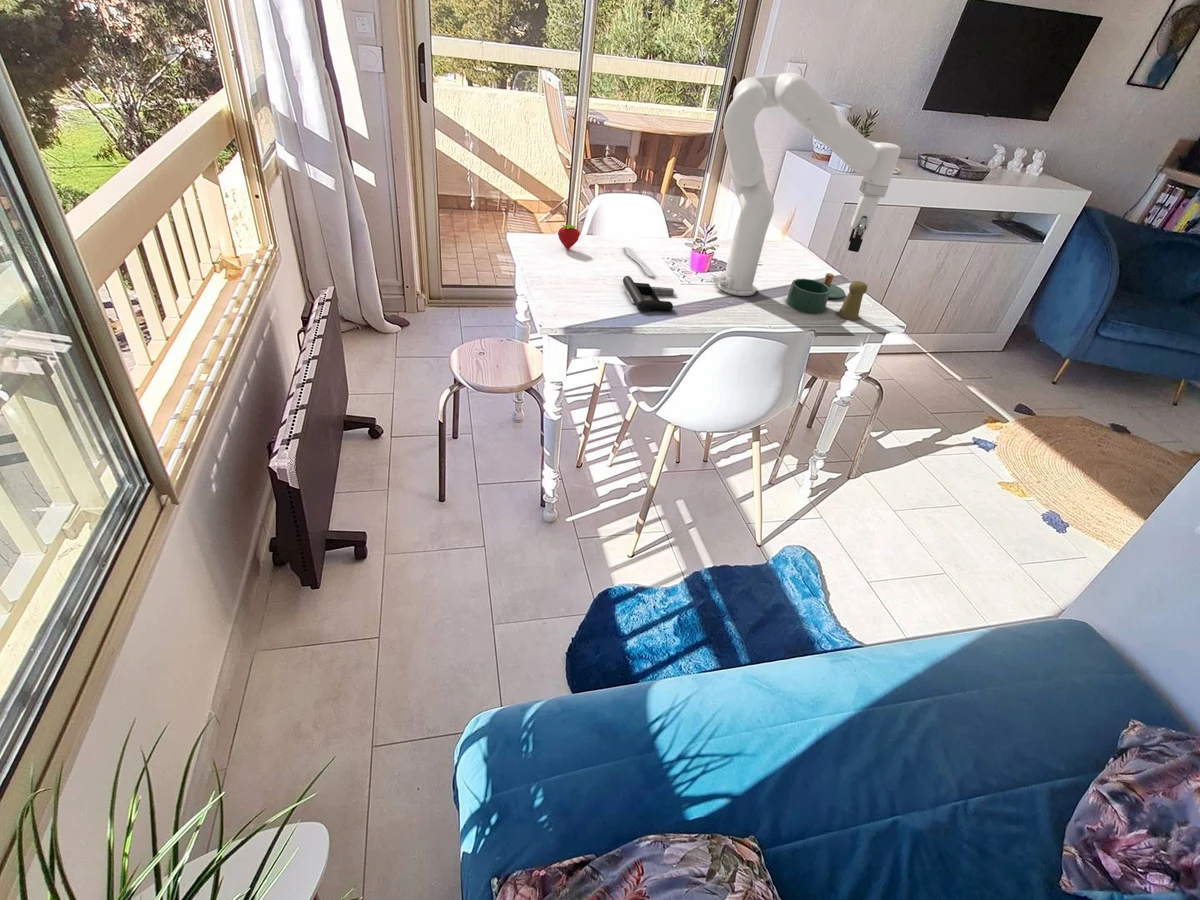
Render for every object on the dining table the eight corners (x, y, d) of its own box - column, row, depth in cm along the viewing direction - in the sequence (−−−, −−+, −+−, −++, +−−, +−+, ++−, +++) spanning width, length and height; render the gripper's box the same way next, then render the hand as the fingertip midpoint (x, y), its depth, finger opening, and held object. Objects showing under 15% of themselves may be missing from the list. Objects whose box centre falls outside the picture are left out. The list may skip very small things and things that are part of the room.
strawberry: (578, 253, 217) (580, 224, 211) (556, 251, 217) (558, 222, 211) (578, 247, 222) (581, 219, 216) (557, 245, 221) (559, 216, 215)
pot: (800, 314, 195) (807, 294, 191) (779, 298, 203) (785, 279, 200) (831, 312, 199) (838, 293, 195) (809, 296, 207) (815, 278, 204)
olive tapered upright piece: (858, 321, 195) (871, 287, 189) (839, 317, 196) (851, 284, 189) (856, 313, 200) (868, 280, 193) (837, 310, 201) (848, 277, 194)
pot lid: (820, 301, 205) (826, 283, 202) (797, 285, 215) (802, 267, 211) (851, 299, 210) (858, 281, 206) (828, 283, 219) (833, 266, 216)
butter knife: (647, 276, 205) (655, 275, 206) (622, 247, 226) (629, 247, 226) (647, 277, 206) (655, 277, 206) (621, 249, 226) (629, 249, 227)
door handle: (667, 278, 200) (619, 274, 196) (687, 305, 185) (635, 301, 181) (665, 288, 202) (617, 284, 198) (684, 315, 187) (633, 311, 183)
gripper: (860, 181, 193) (842, 236, 203) (859, 193, 179) (840, 252, 189) (885, 185, 191) (866, 241, 201) (886, 198, 178) (865, 257, 188)
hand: (853, 246), depth 195 cm, fingers open, 9 cm apart
